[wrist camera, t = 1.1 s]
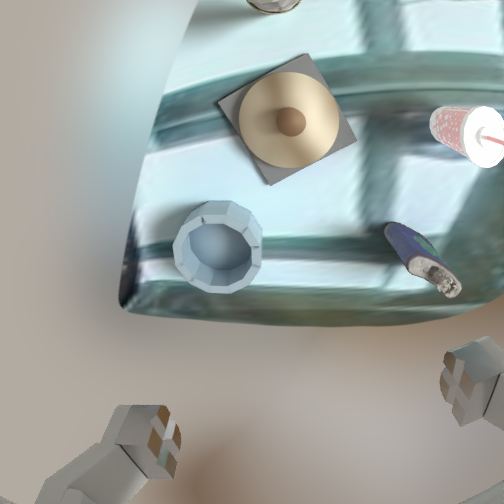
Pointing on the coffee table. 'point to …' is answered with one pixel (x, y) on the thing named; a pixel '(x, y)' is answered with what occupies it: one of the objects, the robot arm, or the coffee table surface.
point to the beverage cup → (470, 133)
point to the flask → (422, 258)
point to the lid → (289, 120)
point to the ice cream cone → (274, 5)
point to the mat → (298, 65)
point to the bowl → (219, 247)
